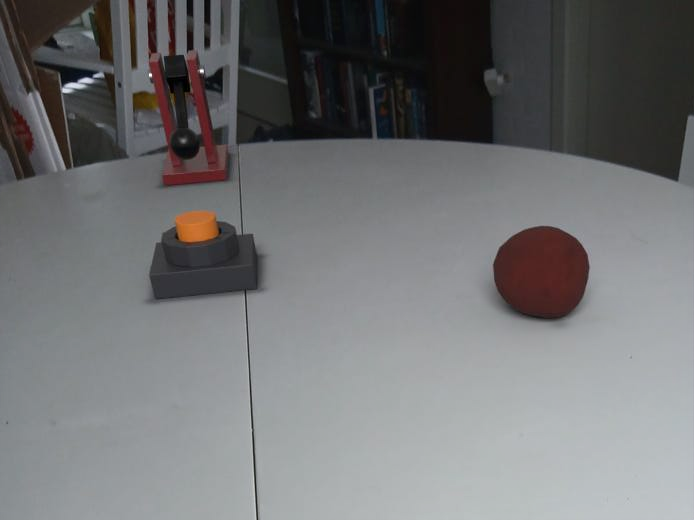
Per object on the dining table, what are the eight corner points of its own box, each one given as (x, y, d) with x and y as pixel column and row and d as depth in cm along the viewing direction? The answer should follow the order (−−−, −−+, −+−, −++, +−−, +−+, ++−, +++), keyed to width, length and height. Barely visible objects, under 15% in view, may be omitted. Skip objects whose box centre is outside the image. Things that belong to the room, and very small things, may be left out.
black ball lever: (204, 164, 109) (197, 144, 106) (174, 167, 109) (167, 146, 105) (193, 73, 111) (187, 50, 108) (165, 76, 111) (157, 53, 108)
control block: (155, 299, 88) (143, 254, 85) (161, 266, 94) (151, 222, 91) (257, 288, 89) (248, 244, 86) (257, 256, 95) (249, 213, 92)
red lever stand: (226, 180, 113) (203, 63, 105) (164, 185, 112) (136, 68, 104) (228, 154, 120) (207, 43, 112) (170, 160, 119) (144, 48, 112)
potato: (528, 284, 87) (528, 202, 82) (605, 309, 83) (609, 224, 78) (471, 312, 83) (467, 227, 79) (548, 339, 79) (549, 251, 74)
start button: (177, 246, 87) (172, 226, 86) (180, 232, 90) (175, 212, 89) (218, 242, 88) (214, 222, 86) (220, 228, 90) (215, 208, 89)
